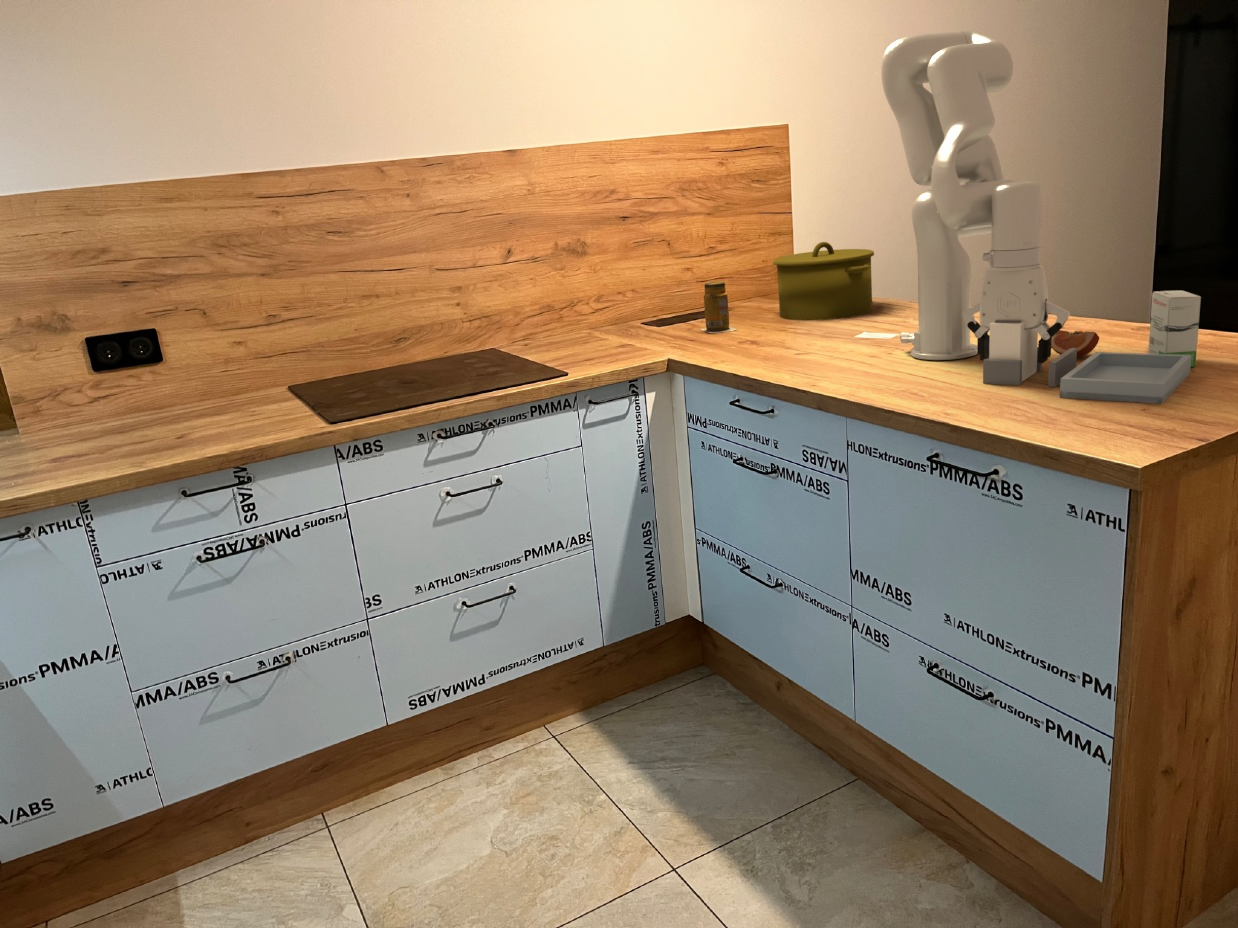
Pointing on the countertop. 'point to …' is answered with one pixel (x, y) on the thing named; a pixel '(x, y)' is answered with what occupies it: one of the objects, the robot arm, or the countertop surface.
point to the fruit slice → (1074, 342)
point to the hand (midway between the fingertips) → (1013, 360)
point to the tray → (1126, 377)
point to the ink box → (1174, 323)
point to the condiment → (716, 308)
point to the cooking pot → (825, 283)
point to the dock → (1012, 369)
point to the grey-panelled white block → (1014, 344)
